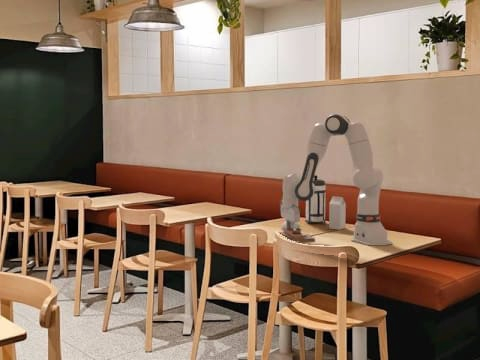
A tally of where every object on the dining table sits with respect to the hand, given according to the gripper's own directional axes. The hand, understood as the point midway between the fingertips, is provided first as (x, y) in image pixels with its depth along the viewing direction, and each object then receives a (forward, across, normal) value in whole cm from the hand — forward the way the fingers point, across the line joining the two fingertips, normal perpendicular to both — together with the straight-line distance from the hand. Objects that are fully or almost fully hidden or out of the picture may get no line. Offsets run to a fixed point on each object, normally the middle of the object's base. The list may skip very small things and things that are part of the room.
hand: (290, 227), depth 334 cm
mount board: (+4, -9, 0) cm, 10 cm away
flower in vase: (+4, +18, -8) cm, 20 cm away
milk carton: (+4, +10, -34) cm, 36 cm away
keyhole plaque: (+2, -6, 0) cm, 7 cm away
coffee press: (+4, +31, -30) cm, 43 cm away
